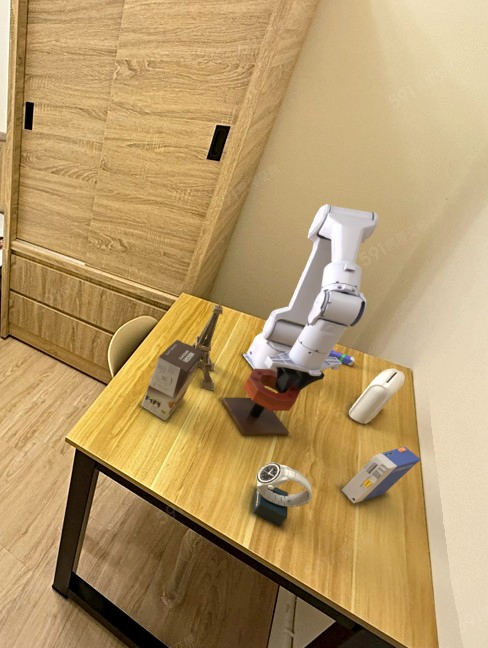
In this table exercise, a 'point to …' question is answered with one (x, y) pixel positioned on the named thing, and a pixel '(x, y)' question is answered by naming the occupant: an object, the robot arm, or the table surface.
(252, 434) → the post
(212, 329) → the eiffel tower
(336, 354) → the eraser
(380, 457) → the walkman
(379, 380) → the white wireless mouse
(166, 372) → the coffee box
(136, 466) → the table surface
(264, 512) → the watch
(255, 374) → the ring
